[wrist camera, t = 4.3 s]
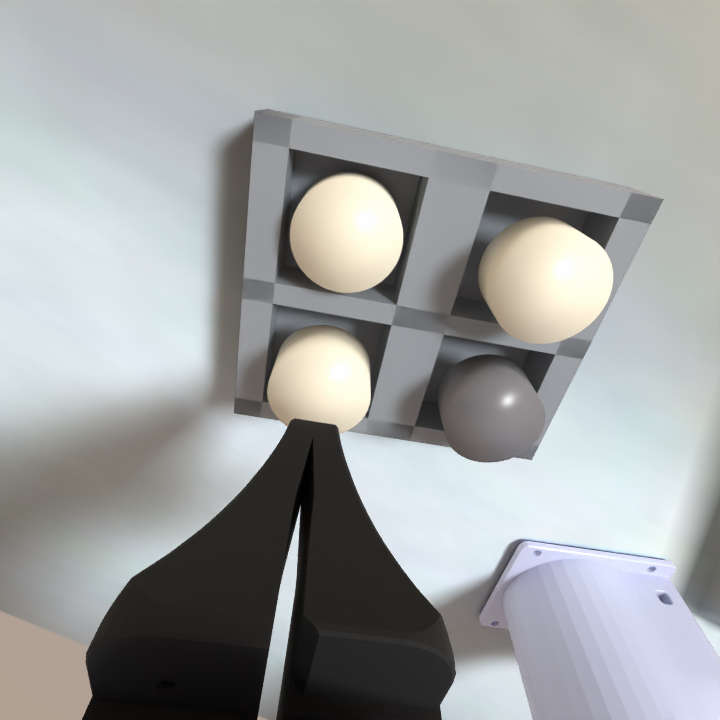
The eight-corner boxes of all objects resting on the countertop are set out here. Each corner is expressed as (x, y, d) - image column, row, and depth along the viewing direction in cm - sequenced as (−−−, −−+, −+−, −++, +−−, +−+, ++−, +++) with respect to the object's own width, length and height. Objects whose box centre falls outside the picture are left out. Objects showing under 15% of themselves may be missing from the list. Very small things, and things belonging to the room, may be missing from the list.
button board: (627, 186, 17) (663, 199, 15) (516, 427, 22) (531, 459, 20) (268, 109, 15) (254, 110, 13) (246, 382, 21) (234, 413, 19)
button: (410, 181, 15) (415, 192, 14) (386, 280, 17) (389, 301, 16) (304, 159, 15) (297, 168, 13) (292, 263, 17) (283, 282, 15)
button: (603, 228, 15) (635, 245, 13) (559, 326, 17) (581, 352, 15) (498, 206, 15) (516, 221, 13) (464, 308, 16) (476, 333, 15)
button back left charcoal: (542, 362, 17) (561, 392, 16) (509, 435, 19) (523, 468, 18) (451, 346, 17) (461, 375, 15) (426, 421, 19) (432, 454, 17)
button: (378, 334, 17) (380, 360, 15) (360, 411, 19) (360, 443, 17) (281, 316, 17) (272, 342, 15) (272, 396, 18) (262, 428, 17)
